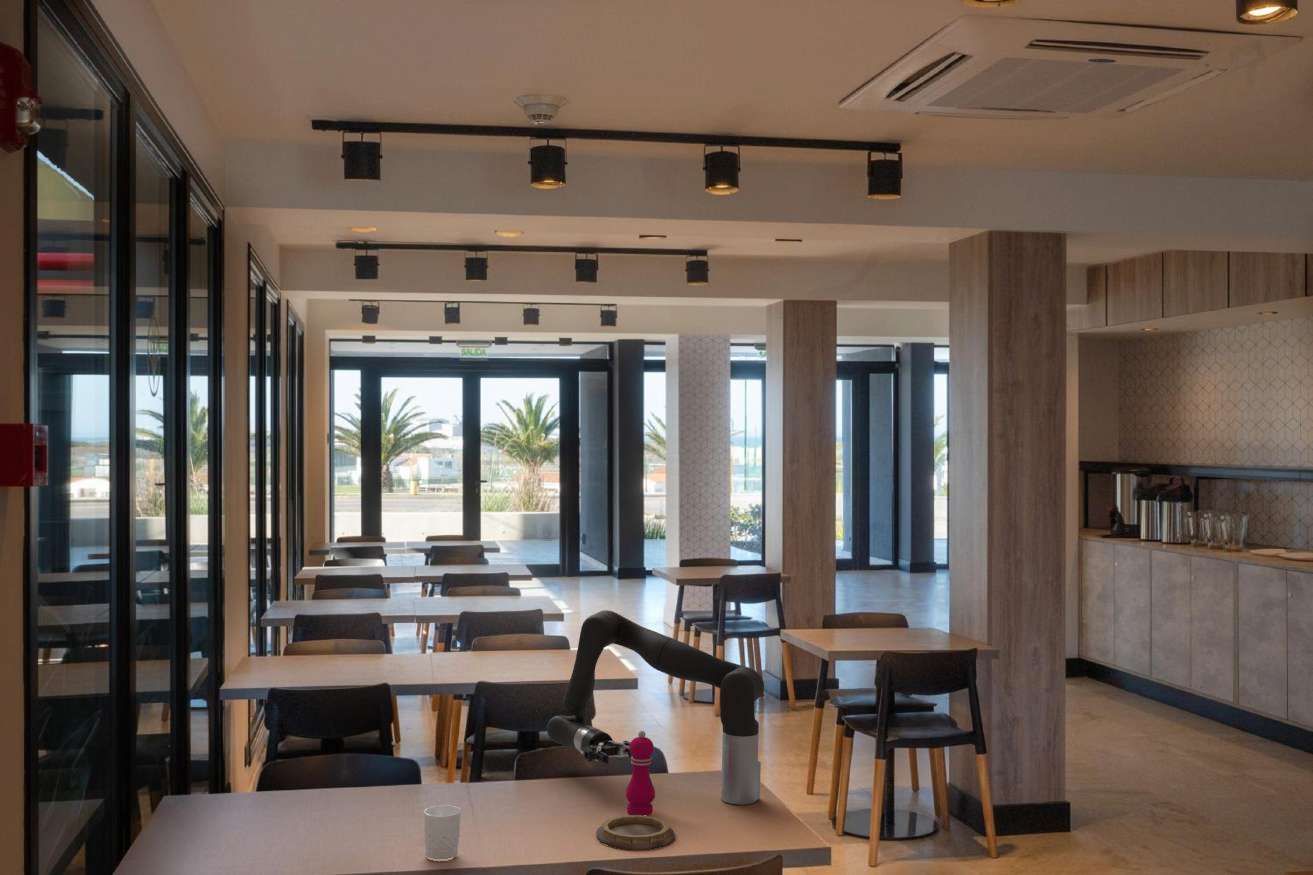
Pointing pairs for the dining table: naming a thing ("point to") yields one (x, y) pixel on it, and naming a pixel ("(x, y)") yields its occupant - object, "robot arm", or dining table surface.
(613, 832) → the tray
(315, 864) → the dining table surface
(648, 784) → the pepper mill
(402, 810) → the dining table surface
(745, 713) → the robot arm
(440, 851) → the white cup
